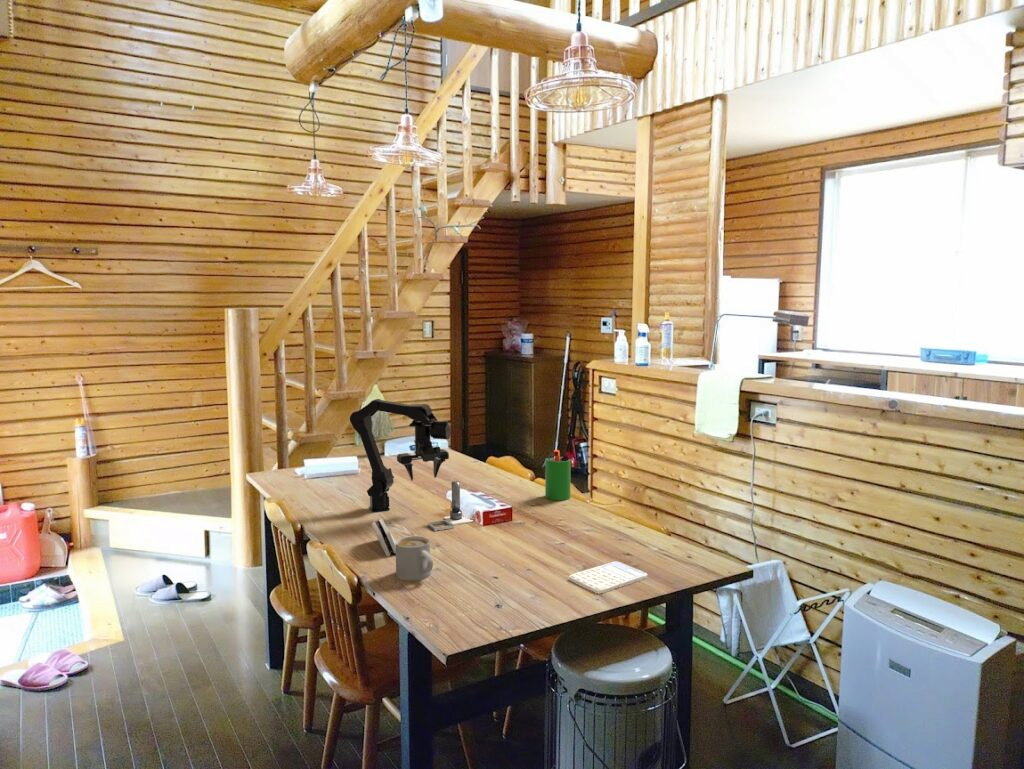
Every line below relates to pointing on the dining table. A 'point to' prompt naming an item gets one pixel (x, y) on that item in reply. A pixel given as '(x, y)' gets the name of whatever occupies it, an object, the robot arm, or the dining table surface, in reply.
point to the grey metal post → (455, 502)
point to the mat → (456, 522)
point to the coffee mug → (413, 558)
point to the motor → (557, 478)
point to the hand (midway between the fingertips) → (423, 479)
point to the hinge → (384, 537)
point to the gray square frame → (431, 524)
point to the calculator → (607, 577)
